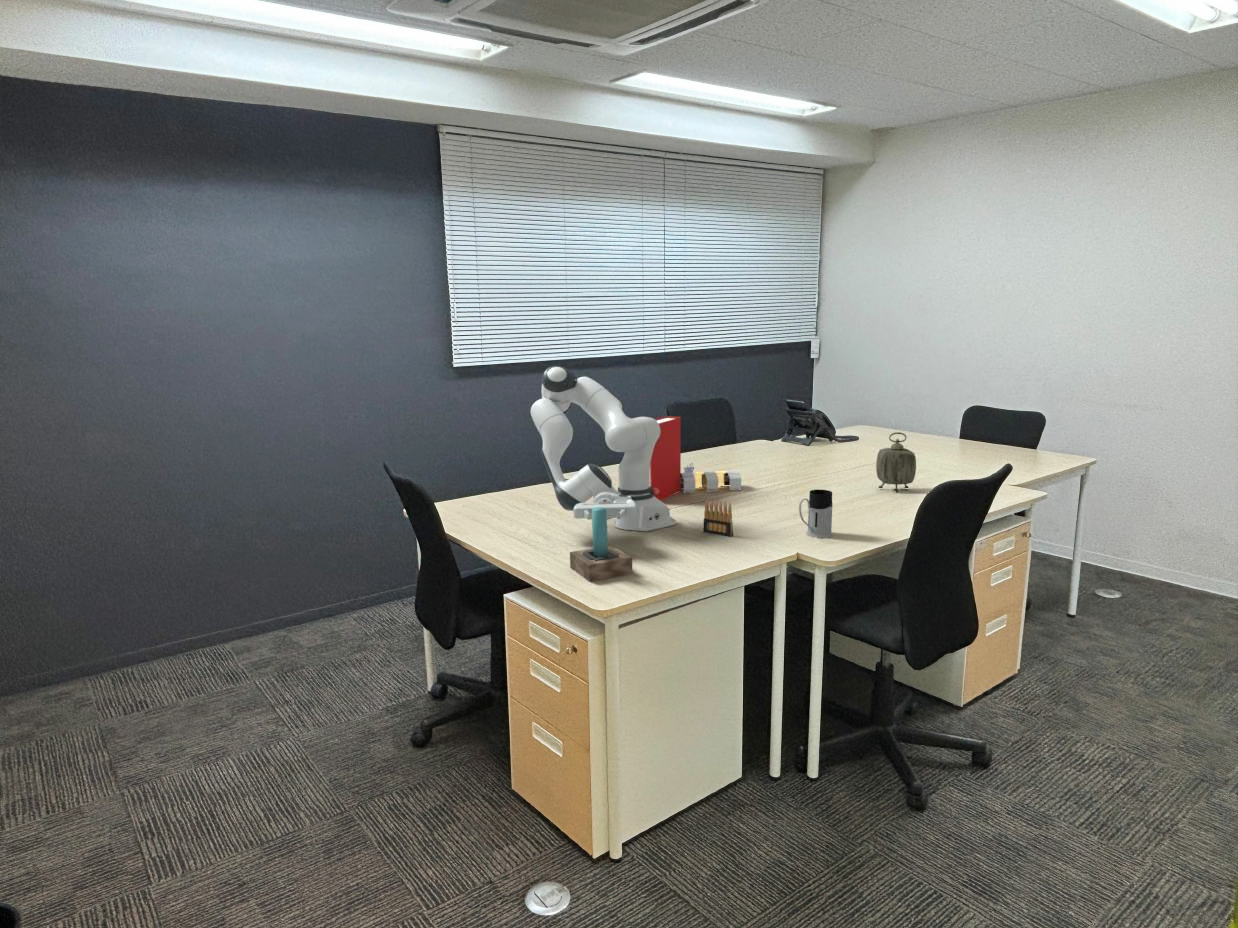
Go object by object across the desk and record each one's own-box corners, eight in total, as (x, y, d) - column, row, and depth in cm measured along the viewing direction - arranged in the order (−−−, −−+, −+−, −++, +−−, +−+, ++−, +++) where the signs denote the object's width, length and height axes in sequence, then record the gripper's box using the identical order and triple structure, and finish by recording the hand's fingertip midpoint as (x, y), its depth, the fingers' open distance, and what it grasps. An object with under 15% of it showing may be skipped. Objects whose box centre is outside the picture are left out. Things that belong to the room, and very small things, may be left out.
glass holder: (838, 535, 263) (839, 492, 260) (808, 542, 255) (809, 498, 252) (818, 529, 270) (820, 487, 267) (789, 536, 263) (790, 493, 260)
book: (651, 504, 309) (651, 425, 303) (634, 501, 313) (633, 424, 307) (682, 490, 332) (682, 416, 326) (665, 488, 336) (665, 415, 330)
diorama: (683, 494, 326) (683, 464, 324) (678, 488, 336) (678, 459, 334) (741, 491, 329) (741, 461, 327) (734, 486, 339) (735, 457, 337)
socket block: (611, 560, 240) (611, 544, 239) (632, 573, 228) (632, 556, 227) (570, 567, 234) (569, 551, 233) (589, 581, 222) (589, 564, 221)
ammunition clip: (733, 535, 264) (733, 501, 262) (730, 537, 263) (731, 503, 261) (705, 531, 270) (705, 498, 268) (703, 532, 269) (703, 499, 267)
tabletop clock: (909, 488, 328) (913, 430, 323) (915, 493, 319) (919, 434, 314) (874, 488, 330) (877, 430, 325) (879, 493, 321) (882, 434, 316)
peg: (604, 564, 234) (602, 506, 230) (610, 568, 230) (609, 509, 226) (591, 566, 232) (589, 508, 228) (597, 570, 228) (595, 511, 224)
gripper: (573, 497, 253) (570, 507, 240) (635, 495, 253) (636, 505, 239) (574, 515, 255) (571, 527, 241) (636, 514, 254) (636, 525, 241)
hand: (604, 516), depth 240 cm, fingers open, 8 cm apart
